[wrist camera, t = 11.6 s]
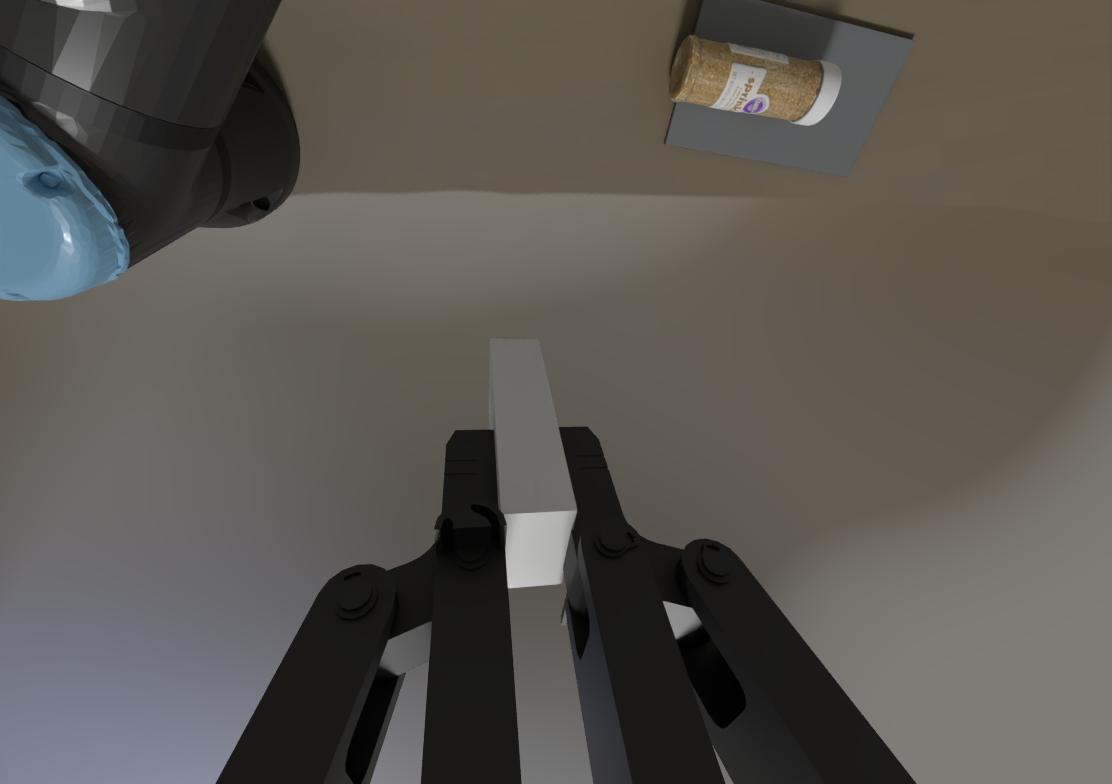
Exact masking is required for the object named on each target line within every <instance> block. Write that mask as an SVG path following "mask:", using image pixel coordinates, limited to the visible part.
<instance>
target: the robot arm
mask: <svg viewBox="0 0 1112 784" xmlns="http://www.w3.org/2000/svg"><path fill="white" fill-rule="evenodd" d="M281 1H282V0H0V299H5V300H14V301H26V300H34V301H36V300H45V301H46V300H55V299H60V298H65V297H69V296H71V295H74V294H77V293H79V292H82V291H84V290H86V289H89V288H92V287H95V286H97V285H102V284H104V283H108V282H111V281H113V280H114V279H117V278H119V276H120V275H121V274H122V272H123V271H125V270H126V269H128V268H130V267H131V266H133V265H135V264H136V263H138V262H140V261H142V260H143V259H145V258H147V257H148V256H150V255H151V254H153V253H155V252H157V251H158V250H160V249H162V248H163V247H165V246H167V245H169V244H170V243H172V242H173V241H175V240H177V239H179V238H180V237H182V236H184V235H185V234H187V233H189V232H191V231H192V230H194V229H196V228H197V227H204V228H233V227H240V226H244V225H247V224H251V223H254V222H256V221H258V220H260V219H262V218H264V217H265V216H267V215H268V214H270V213H271V212H273V211H274V210H276V209H277V208H278V207H279V206H280V205H282V203H284V202H285V200H286V199H287V198H288V196H289V195H290V193H291V192H292V190H293V188H294V185H295V183H296V180H297V176H298V172H299V165H300V148H299V141H298V135H297V131H296V127H295V124H294V121H293V118H292V115H291V113H290V110H289V108H288V106H287V104H286V102H285V100H284V98H283V96H282V94H281V92H280V91H279V89H278V88H277V86H276V84H275V83H274V81H273V80H272V78H271V77H270V76H269V74H268V73H267V72H266V70H265V69H264V68H263V67H262V66H261V64H260V63H259V62H258V61H257V60H256V59H255V56H256V54H257V52H258V49H259V47H260V45H261V43H262V41H263V39H264V37H265V35H266V33H267V30H268V28H269V26H270V24H271V22H272V20H273V18H274V16H275V14H276V11H277V9H278V7H279V5H280V3H281ZM489 423H490V430H455V432H454V434H453V435H452V436H451V438H450V440H449V441H448V443H447V444H446V457H445V472H444V488H443V503H442V513H441V515H440V516H439V517H438V518H437V522H436V525H435V528H434V536H435V543H434V545H433V546H432V547H431V548H430V549H429V550H428V551H427V552H426V553H425V554H423V555H422V556H421V557H419V558H417V559H415V560H413V561H411V562H409V563H407V564H404V565H401V566H398V567H396V568H393V569H391V570H388V571H386V570H385V569H384V568H381V567H378V566H375V565H373V564H368V565H367V564H366V565H356V566H353V567H350V568H347V569H345V570H342V571H341V572H339V573H338V574H337V575H335V576H334V577H332V578H331V579H330V580H329V581H328V582H327V583H326V584H325V586H324V587H323V588H322V590H321V591H320V592H319V594H318V595H317V597H316V599H315V601H314V603H313V605H312V607H311V608H310V611H309V612H308V614H307V616H306V618H305V619H304V621H303V623H302V625H301V627H300V629H299V631H298V632H297V634H296V636H295V638H294V640H293V642H292V644H291V645H290V647H289V649H288V651H287V653H286V655H285V657H284V658H283V660H282V662H281V664H280V666H279V667H278V669H277V671H276V673H275V675H274V677H273V679H272V680H271V682H270V684H269V686H268V688H267V690H266V692H265V693H264V695H263V697H262V699H261V701H260V702H259V704H258V706H257V708H256V710H255V712H254V714H253V716H252V717H251V719H250V721H249V723H248V725H247V726H246V729H245V730H244V732H243V734H242V736H241V738H240V740H239V741H238V743H237V745H236V747H235V749H234V751H233V752H232V754H231V756H230V758H229V760H228V762H227V763H226V765H225V767H224V769H223V771H222V773H221V774H220V776H219V778H218V780H217V782H216V784H370V781H371V778H372V775H373V772H374V769H375V766H376V763H377V760H378V757H379V754H380V751H381V747H382V745H383V741H384V738H385V735H386V732H387V729H388V726H389V723H390V720H391V717H392V714H393V711H394V708H395V704H396V701H397V699H398V695H399V692H400V689H401V686H402V683H403V680H404V677H405V674H406V672H407V671H409V670H411V669H413V668H415V667H417V666H419V665H421V664H423V663H425V662H428V661H429V672H428V686H427V687H428V688H427V701H426V716H425V731H424V745H423V760H422V776H421V784H521V770H520V756H519V741H518V728H517V713H516V699H515V684H514V669H513V655H512V640H511V627H510V611H509V597H508V588H518V587H530V586H540V585H553V584H561V583H562V578H563V574H564V577H565V583H566V588H567V594H566V599H565V603H564V607H563V611H562V615H561V626H563V625H566V622H567V624H568V630H569V636H570V643H571V649H572V654H573V661H574V667H575V673H576V679H577V685H578V691H579V698H580V704H581V710H582V716H583V722H584V728H585V734H586V741H587V747H588V752H589V758H590V765H591V771H592V777H593V783H594V784H725V781H724V778H723V775H722V772H721V770H720V766H719V764H718V761H717V758H716V755H715V752H714V749H713V746H714V748H715V750H716V752H717V754H718V756H719V757H720V759H721V761H722V763H723V765H724V767H725V769H726V770H727V772H728V774H729V776H730V778H731V780H732V781H733V783H734V784H916V782H915V781H914V780H913V779H912V777H911V776H910V775H909V774H908V772H907V771H906V770H905V769H904V767H903V766H902V765H901V763H900V762H899V761H898V760H897V758H896V757H895V756H894V754H893V753H892V752H891V751H890V749H889V748H888V747H887V746H886V744H885V743H884V742H883V740H882V739H881V738H880V737H879V735H878V734H877V733H876V731H875V730H874V729H873V728H872V726H871V725H870V724H869V723H868V721H867V720H866V719H865V717H864V716H863V715H862V714H861V712H860V711H859V710H858V709H857V707H856V706H855V705H854V703H853V702H852V701H851V700H850V698H849V697H848V696H847V694H846V693H845V692H844V691H843V690H842V688H841V687H840V686H839V684H838V683H837V682H836V680H835V679H834V678H833V677H832V675H831V674H830V673H829V672H828V670H827V669H826V668H825V667H824V665H823V664H822V663H821V661H820V660H819V659H818V657H816V655H815V654H814V652H813V651H812V650H811V649H810V647H809V646H808V645H807V644H806V642H805V641H804V640H803V639H802V637H801V636H800V635H799V633H798V632H797V631H796V630H795V628H794V627H793V626H792V625H791V623H790V622H789V621H788V619H787V618H786V617H785V615H784V614H783V613H782V612H781V610H780V609H779V608H778V606H777V605H776V604H775V603H774V601H773V600H772V599H771V598H770V596H769V595H768V594H767V593H766V591H765V590H764V589H763V587H762V586H761V585H760V584H759V582H758V581H757V580H756V578H755V577H754V576H753V575H752V573H751V572H750V571H749V570H748V569H747V567H746V566H745V564H744V563H743V562H742V561H741V560H740V558H739V557H738V556H737V555H736V554H735V553H734V552H733V551H732V550H731V549H730V548H728V547H726V546H724V545H723V544H721V543H719V542H717V541H713V540H709V539H698V540H694V541H692V542H690V543H689V544H687V545H686V547H685V549H684V550H683V549H678V548H675V547H671V546H666V545H662V544H658V543H655V542H652V541H649V540H647V539H645V538H643V537H642V536H640V535H639V534H638V533H637V531H636V530H635V529H634V528H633V527H631V526H630V525H629V524H628V523H627V522H626V519H625V518H624V515H623V513H622V510H621V506H620V503H619V500H618V497H617V494H616V491H615V488H614V485H613V482H612V479H611V475H610V473H609V470H608V468H607V463H606V460H605V458H604V454H603V451H602V448H601V445H600V442H599V439H598V438H597V437H596V436H595V435H594V434H593V433H592V431H591V430H590V429H589V428H588V427H558V423H557V419H556V414H555V410H554V406H553V401H552V397H551V393H550V388H549V384H548V379H547V375H546V371H545V366H544V362H543V358H542V353H541V349H540V344H539V340H531V339H490V374H489ZM712 745H713V746H712Z"/></svg>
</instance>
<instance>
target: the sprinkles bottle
mask: <svg viewBox="0 0 1112 784" xmlns="http://www.w3.org/2000/svg"><path fill="white" fill-rule="evenodd" d="M841 79H842V77H841V70H840V68H839V67H838V66H837V65H836V64H833V63H830V62H826V61H821V60H811V61H807V60H802V59H798V58H795V57H789V56H786V55H784V54H780V53H775V52H770V51H766V50H761V49H756V48H751V47H746V46H741V45H736V44H731V43H720V42H716V41H711V40H706V39H700V38H698V37H697V36H695V35H689V36H688V37H686V38H685V39H684V40H683V42H682V43H681V45H680V47H679V49H678V51H677V54H676V57H675V59H674V62H673V66H672V70H671V77H670V84H669V95H670V97H671V100H672V101H674V102H687V103H693V104H699V105H704V106H707V107H710V108H716V109H721V110H727V111H733V112H744V113H749V114H755V115H761V116H767V117H774V118H780V119H785V120H787V121H789V122H790V123H793V124H799V125H806V126H810V125H814V124H816V123H817V122H819V121H820V120H821V119H822V118H824V116H825V115H826V114H827V113H828V112H829V110H830V109H831V107H832V106H833V104H834V102H835V100H836V98H837V96H838V93H839V90H840V86H841Z"/></svg>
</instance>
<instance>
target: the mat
mask: <svg viewBox="0 0 1112 784" xmlns="http://www.w3.org/2000/svg"><path fill="white" fill-rule="evenodd" d="M693 35H695V36H697V37H698V38H700V39H706V40H711V41H716V42H720V43H731V44H736V45H741V46H746V47H751V48H756V49H761V50H766V51H770V52H775V53H780V54H784V55H786V56H789V57H795V58H798V59H802V60H807V61H811V60H821V61H826V62H830V63H833V64H836V65H837V66H838V67H839V68H840V70H841V77H842V79H841V86H840V90H839V93H838V96H837V98H836V100H835V102H834V104H833V106H832V107H831V109H830V110H829V112H828V113H827V114H826V115H825V116H824V118H822V119H821V120H820V121H819V122H817V123H816V124H814V125H810V126H806V125H799V124H793V123H790V122H789V121H787V120H785V119H780V118H774V117H767V116H761V115H755V114H749V113H744V112H733V111H727V110H721V109H716V108H710V107H707V106H704V105H699V104H693V103H687V102H675V104H674V108H673V112H672V115H671V119H670V123H669V127H668V130H667V134H666V138H665V141H664V144H666V145H672V146H678V147H683V148H689V149H694V150H700V151H706V152H711V153H717V154H722V155H728V156H734V157H739V158H745V159H750V160H756V161H762V162H767V163H773V164H778V165H784V166H790V167H795V168H801V169H806V170H812V171H818V172H823V173H829V174H834V175H840V176H846V177H847V175H848V173H849V171H850V169H851V167H852V165H853V163H854V161H855V159H856V157H857V155H858V153H859V151H860V149H861V147H862V145H863V143H864V141H865V139H866V137H867V135H868V133H869V131H870V129H871V127H872V125H873V123H874V121H875V119H876V117H877V115H878V113H879V111H880V109H881V107H882V105H883V103H884V101H885V99H886V97H887V95H888V93H889V91H890V90H891V88H892V86H893V84H894V82H895V80H896V78H897V76H898V74H899V72H900V70H901V68H902V66H903V64H904V62H905V60H906V58H907V56H908V54H909V52H910V50H911V48H912V46H913V44H914V42H915V41H914V40H910V39H906V38H902V37H898V36H894V35H891V34H887V33H883V32H879V31H875V30H872V29H868V28H864V27H860V26H856V25H852V24H849V23H845V22H841V21H837V20H833V19H829V18H826V17H822V16H818V15H814V14H810V13H807V12H803V11H799V10H795V9H791V8H787V7H784V6H780V5H776V4H772V3H768V2H764V1H761V0H702V3H701V7H700V11H699V15H698V18H697V22H696V26H695V30H694V33H693Z"/></svg>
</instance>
